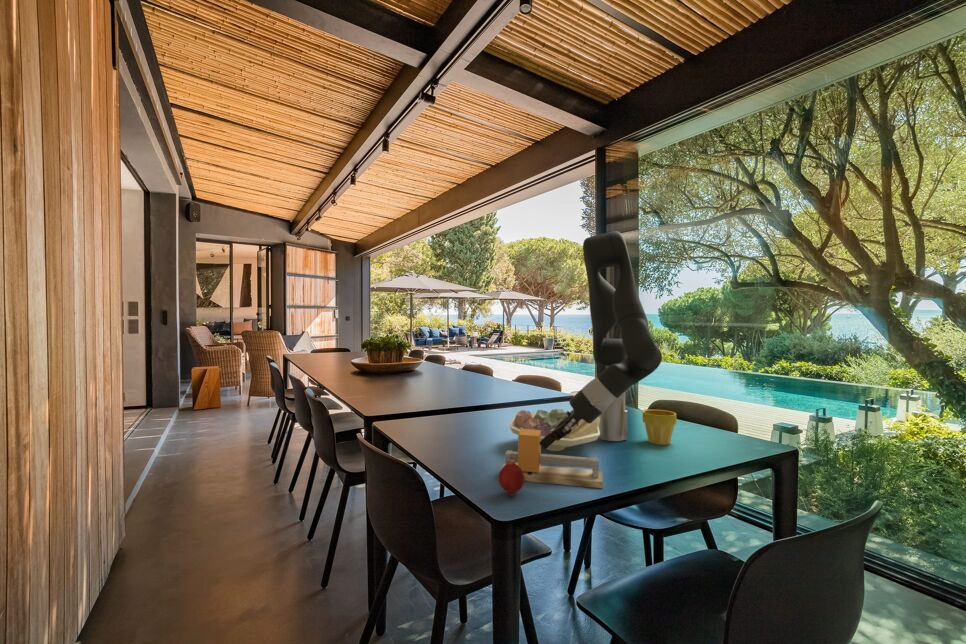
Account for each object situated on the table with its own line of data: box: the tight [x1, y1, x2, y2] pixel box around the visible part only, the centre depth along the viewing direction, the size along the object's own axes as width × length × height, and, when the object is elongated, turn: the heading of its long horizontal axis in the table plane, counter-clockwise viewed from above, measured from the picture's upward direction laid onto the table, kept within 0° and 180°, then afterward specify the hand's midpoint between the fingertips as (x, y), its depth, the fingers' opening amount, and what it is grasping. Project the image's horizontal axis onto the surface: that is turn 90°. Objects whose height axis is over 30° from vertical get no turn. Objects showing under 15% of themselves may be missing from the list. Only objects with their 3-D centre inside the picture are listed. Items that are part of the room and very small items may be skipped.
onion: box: [498, 460, 525, 496], centre depth 104 cm, size 6×6×8 cm
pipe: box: [504, 449, 600, 478], centre depth 116 cm, size 23×3×4 cm, turn 77°
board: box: [498, 462, 604, 489], centre depth 116 cm, size 25×8×2 cm, turn 77°
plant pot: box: [642, 409, 677, 446], centre depth 150 cm, size 10×10×10 cm
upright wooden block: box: [517, 429, 542, 472], centre depth 117 cm, size 5×6×9 cm
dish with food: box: [508, 408, 600, 452], centre depth 141 cm, size 28×28×14 cm
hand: (542, 445), depth 116 cm, fingers closed
